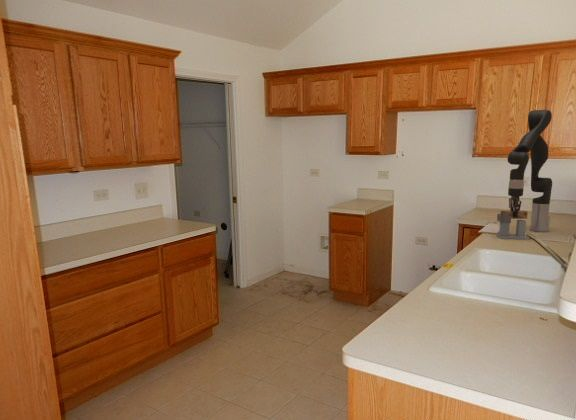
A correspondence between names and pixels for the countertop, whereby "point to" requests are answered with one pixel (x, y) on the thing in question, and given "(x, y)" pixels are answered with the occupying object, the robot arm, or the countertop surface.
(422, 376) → the countertop surface
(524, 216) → the rail
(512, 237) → the bracket stand
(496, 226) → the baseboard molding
